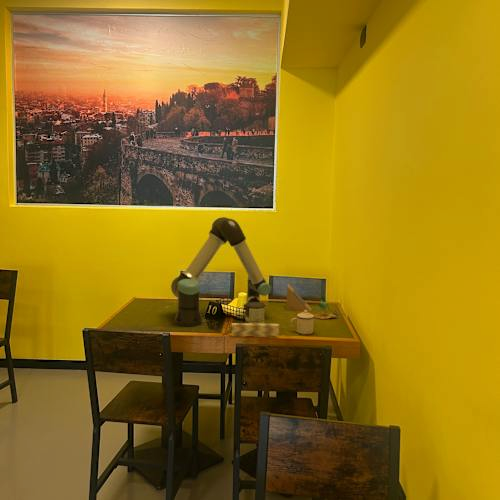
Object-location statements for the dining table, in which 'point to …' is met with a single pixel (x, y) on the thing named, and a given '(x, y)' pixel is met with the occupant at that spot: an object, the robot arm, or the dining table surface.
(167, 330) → the dining table surface
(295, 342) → the dining table surface
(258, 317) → the coffee can
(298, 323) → the teacup with lid
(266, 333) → the birch board
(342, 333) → the dining table surface
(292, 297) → the sandwich container
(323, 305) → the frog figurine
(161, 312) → the dining table surface
